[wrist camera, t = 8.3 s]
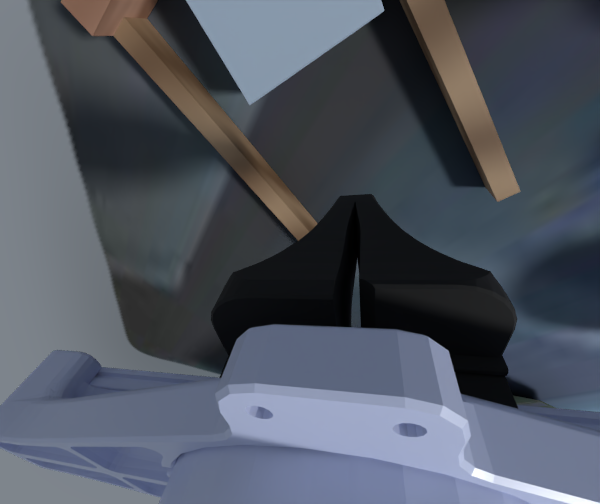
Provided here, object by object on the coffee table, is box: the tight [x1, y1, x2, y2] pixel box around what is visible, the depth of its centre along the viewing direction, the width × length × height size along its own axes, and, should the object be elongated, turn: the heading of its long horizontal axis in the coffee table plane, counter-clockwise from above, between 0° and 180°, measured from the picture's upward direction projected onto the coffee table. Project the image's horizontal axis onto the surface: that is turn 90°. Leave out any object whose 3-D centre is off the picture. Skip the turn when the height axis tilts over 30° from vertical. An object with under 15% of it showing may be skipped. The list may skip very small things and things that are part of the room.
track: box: [61, 0, 520, 241], centre depth 15 cm, size 22×13×4 cm, turn 39°
